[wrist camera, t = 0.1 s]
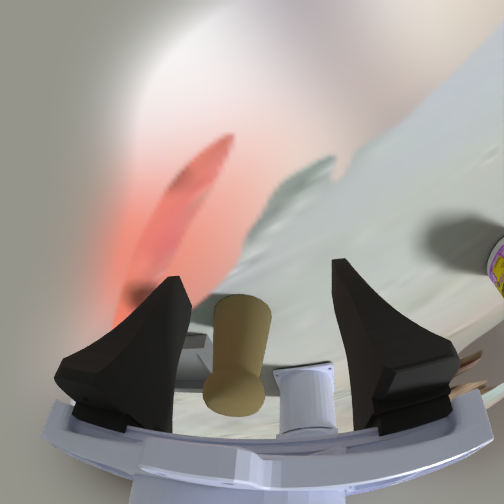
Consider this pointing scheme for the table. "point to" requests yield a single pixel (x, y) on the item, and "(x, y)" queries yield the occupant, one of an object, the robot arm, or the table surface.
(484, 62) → the table surface
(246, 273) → the table surface
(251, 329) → the cork
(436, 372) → the robot arm
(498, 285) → the supplement bottle
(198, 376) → the socket holder
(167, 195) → the table surface
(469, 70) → the table surface
